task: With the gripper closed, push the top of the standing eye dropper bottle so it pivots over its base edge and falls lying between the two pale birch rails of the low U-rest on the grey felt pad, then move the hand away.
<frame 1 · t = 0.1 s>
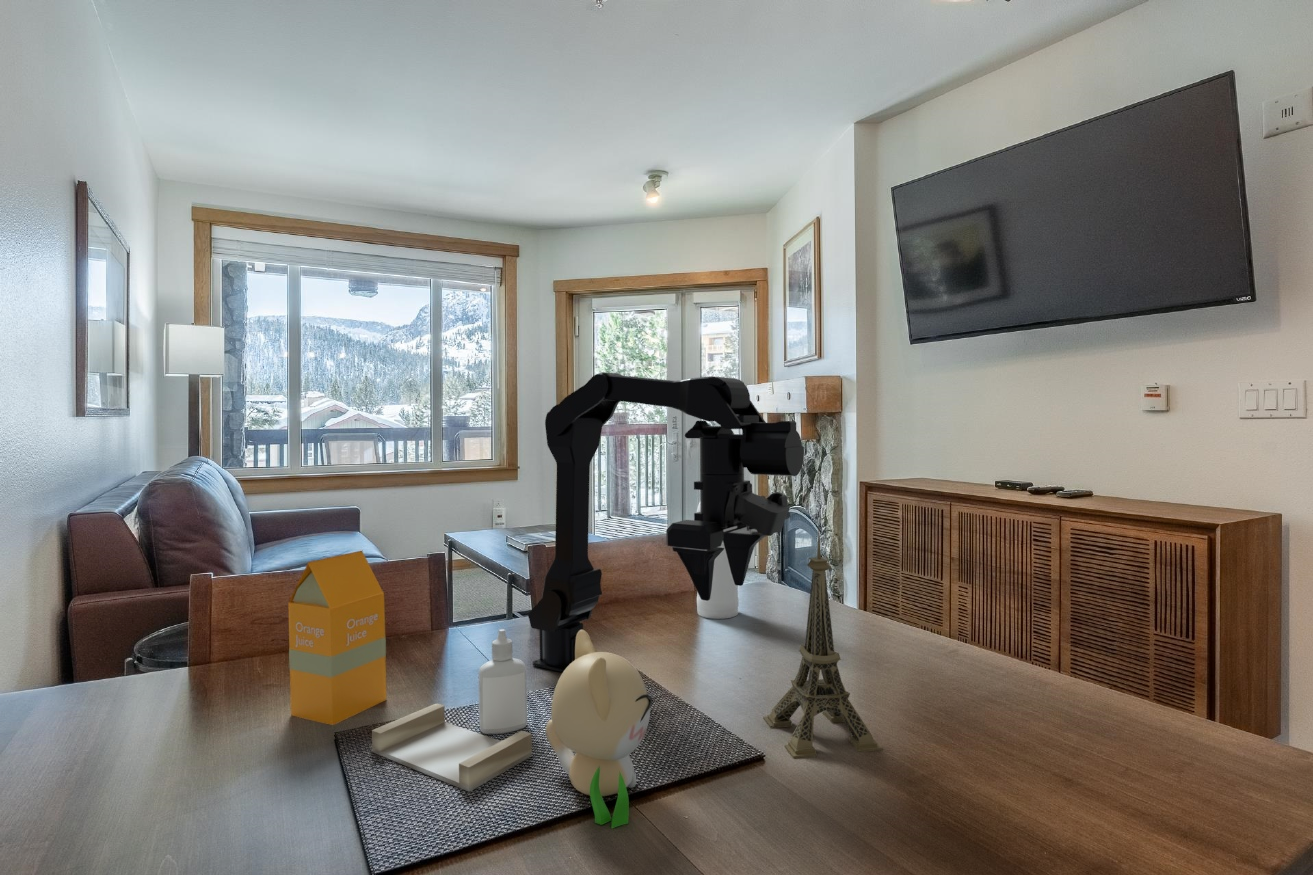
hand: (722, 592, 93), 15 cm above the table, tool pointing down, fingers open, 9 cm apart
eye dropper bottle: (503, 729, 86), on the table
bottle: (717, 614, 136), on the table
u rest: (451, 753, 80), on the table
orange juice: (339, 708, 93), on the table
eiffel tower: (819, 735, 84), on the table
kitten: (603, 791, 72), on the table
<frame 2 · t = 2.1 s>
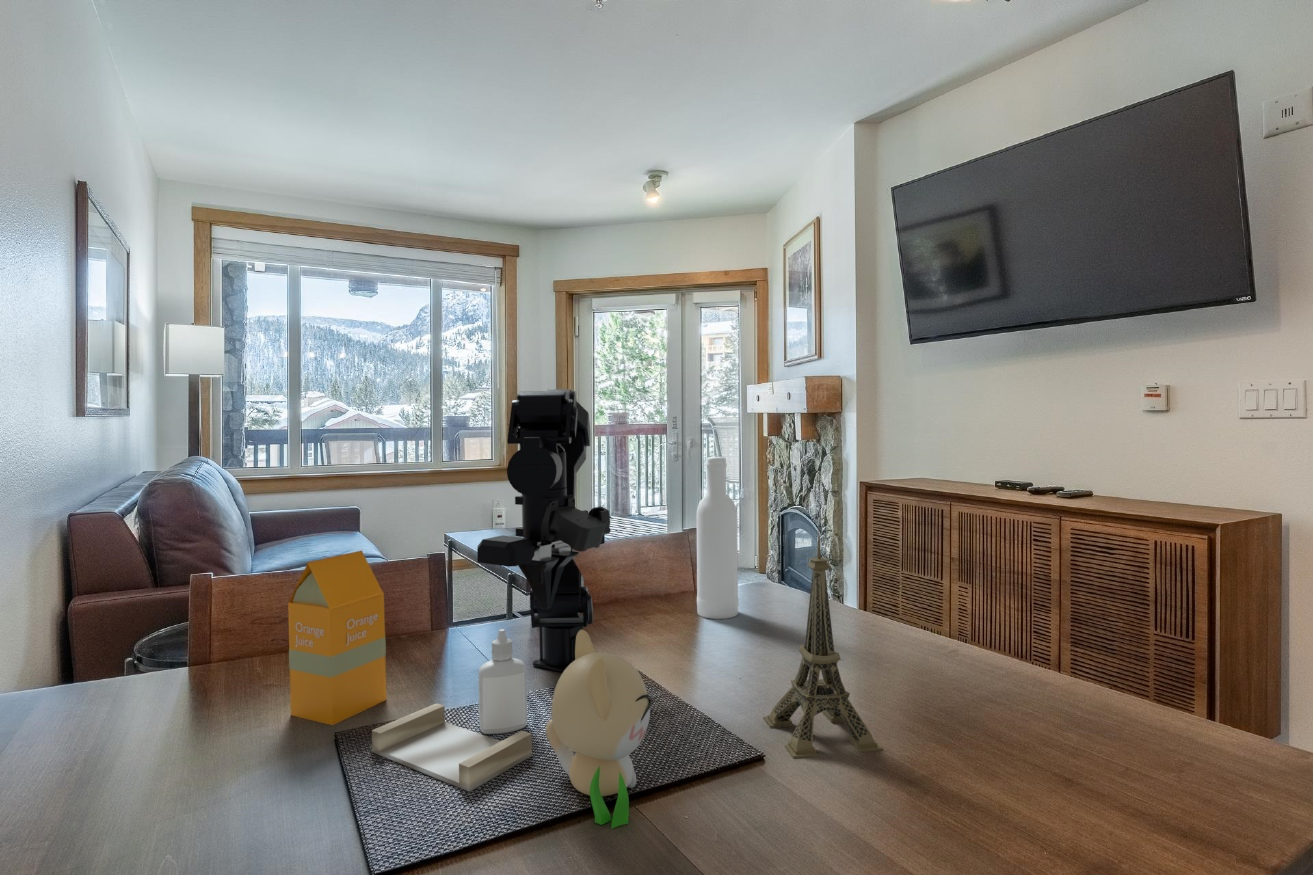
hand: (546, 608, 92), 13 cm above the table, tool pointing down, fingers closed
nothing on the table moved.
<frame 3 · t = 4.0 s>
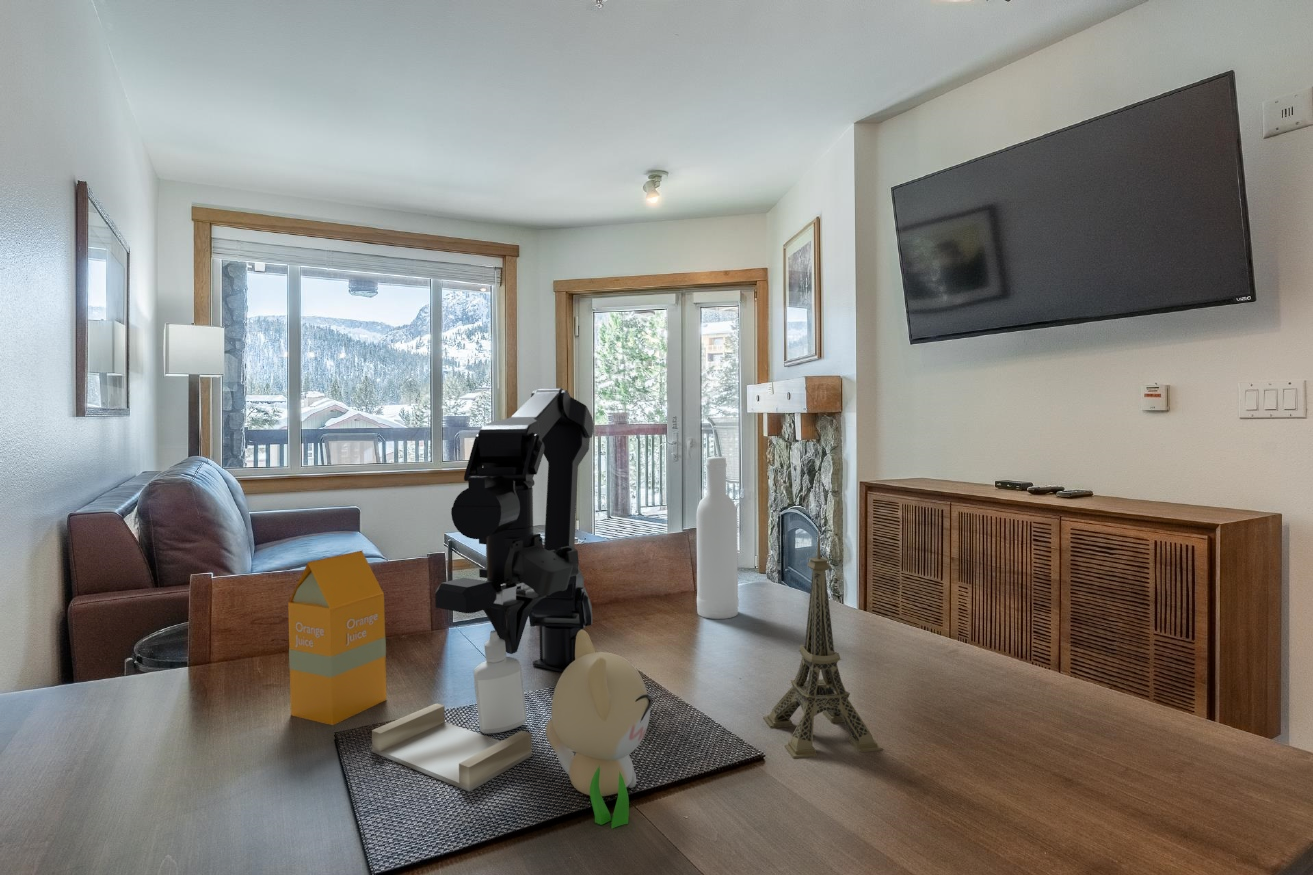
hand: (511, 652, 87), 9 cm above the table, tool pointing down, fingers closed
eye dropper bottle: (503, 726, 86), on the table, touching gripper
everything else where it was.
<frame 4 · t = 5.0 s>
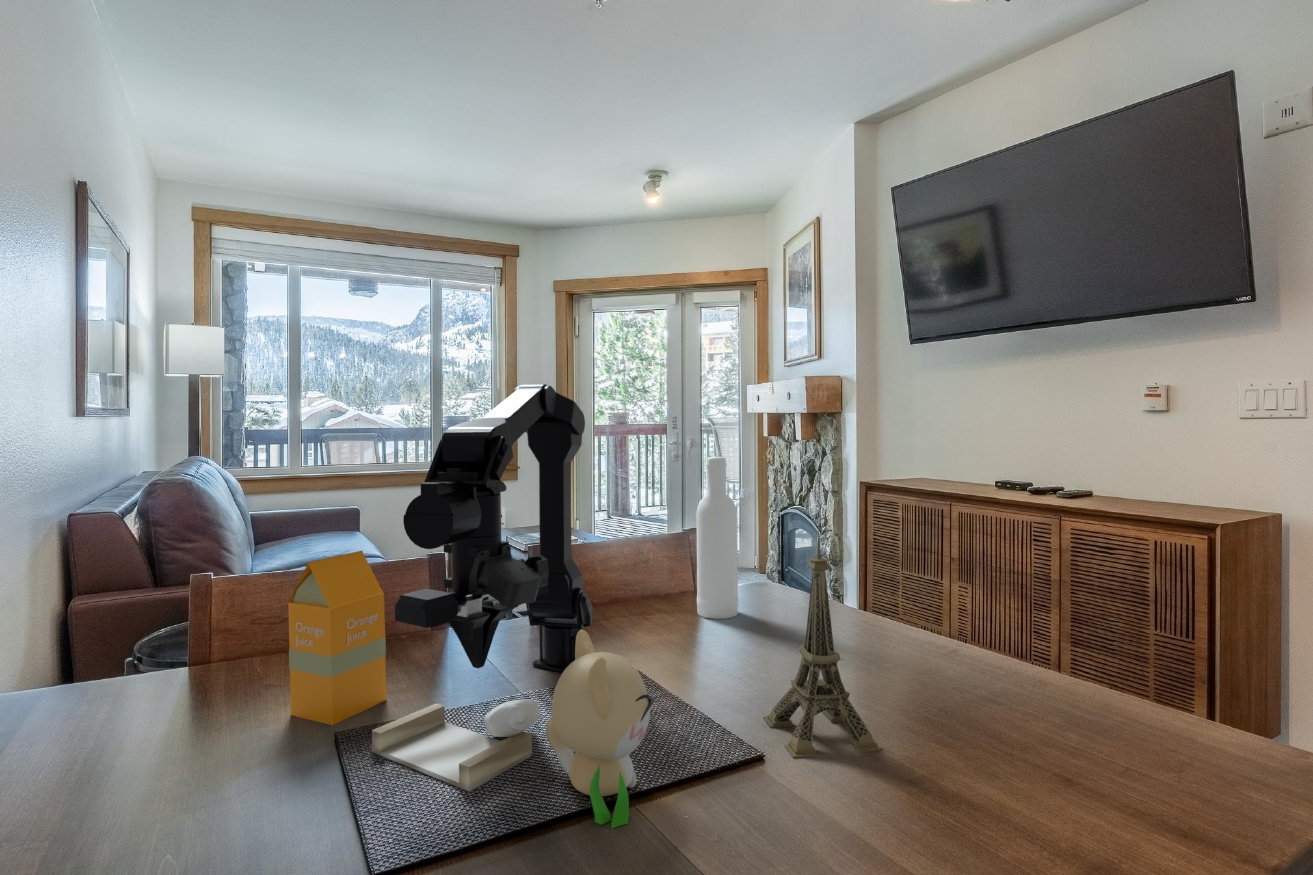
hand: (478, 667, 83), 9 cm above the table, tool pointing down, fingers closed
eye dropper bottle: (507, 717, 85), point 2 cm above the table, touching u rest
everything else where it was.
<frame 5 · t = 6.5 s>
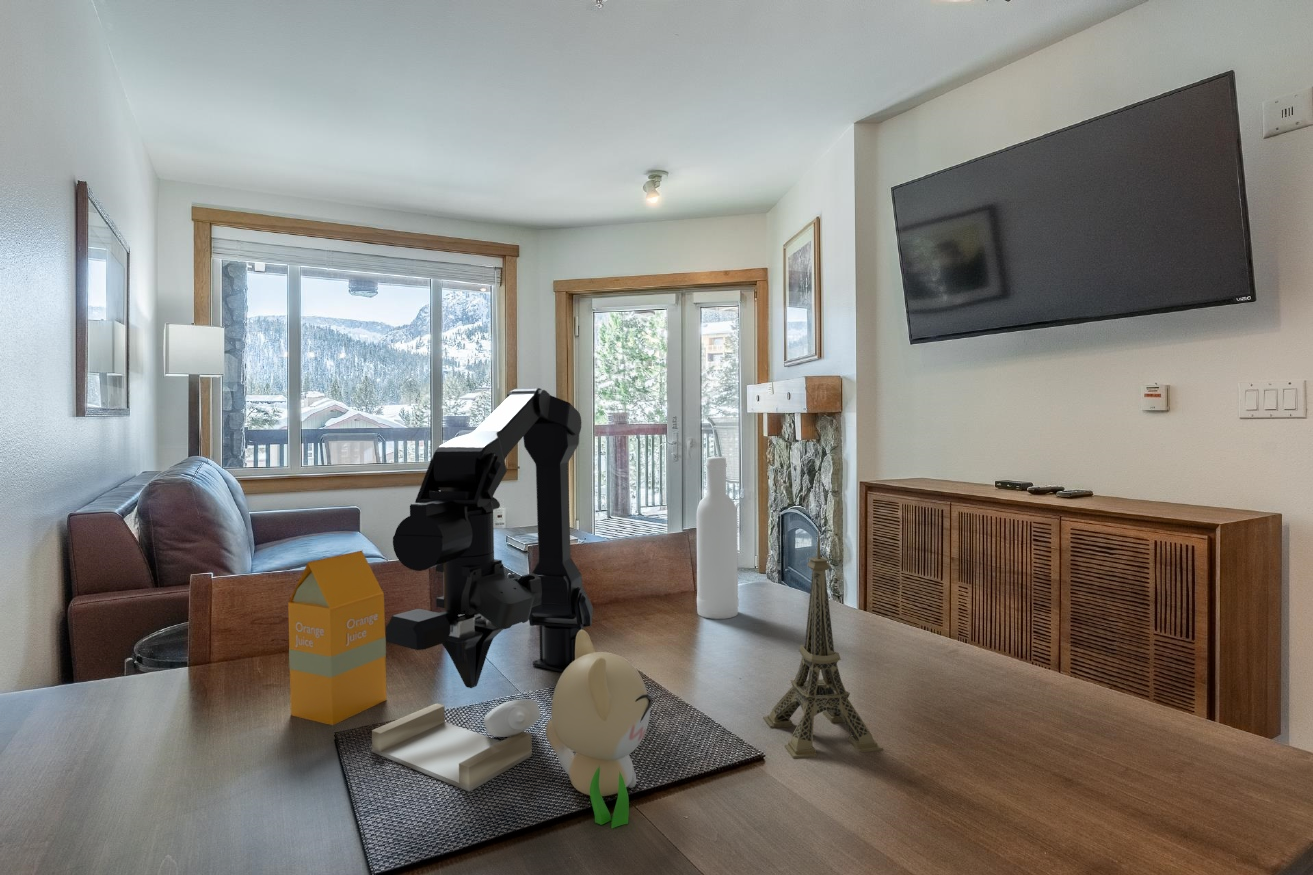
hand: (471, 686, 82), 7 cm above the table, tool pointing down, fingers closed
nothing on the table moved.
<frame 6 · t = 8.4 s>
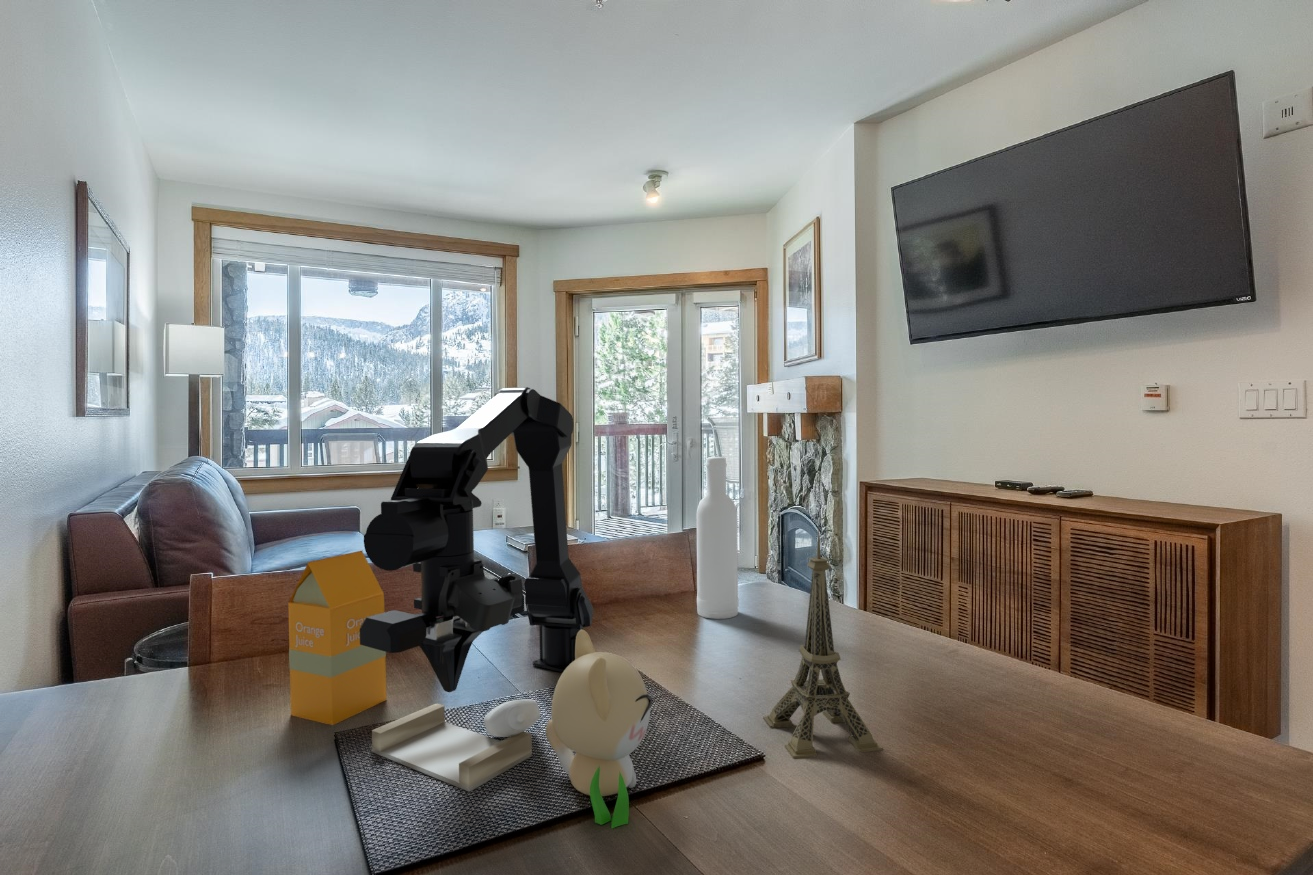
hand: (450, 690, 79), 7 cm above the table, tool pointing down, fingers closed
nothing on the table moved.
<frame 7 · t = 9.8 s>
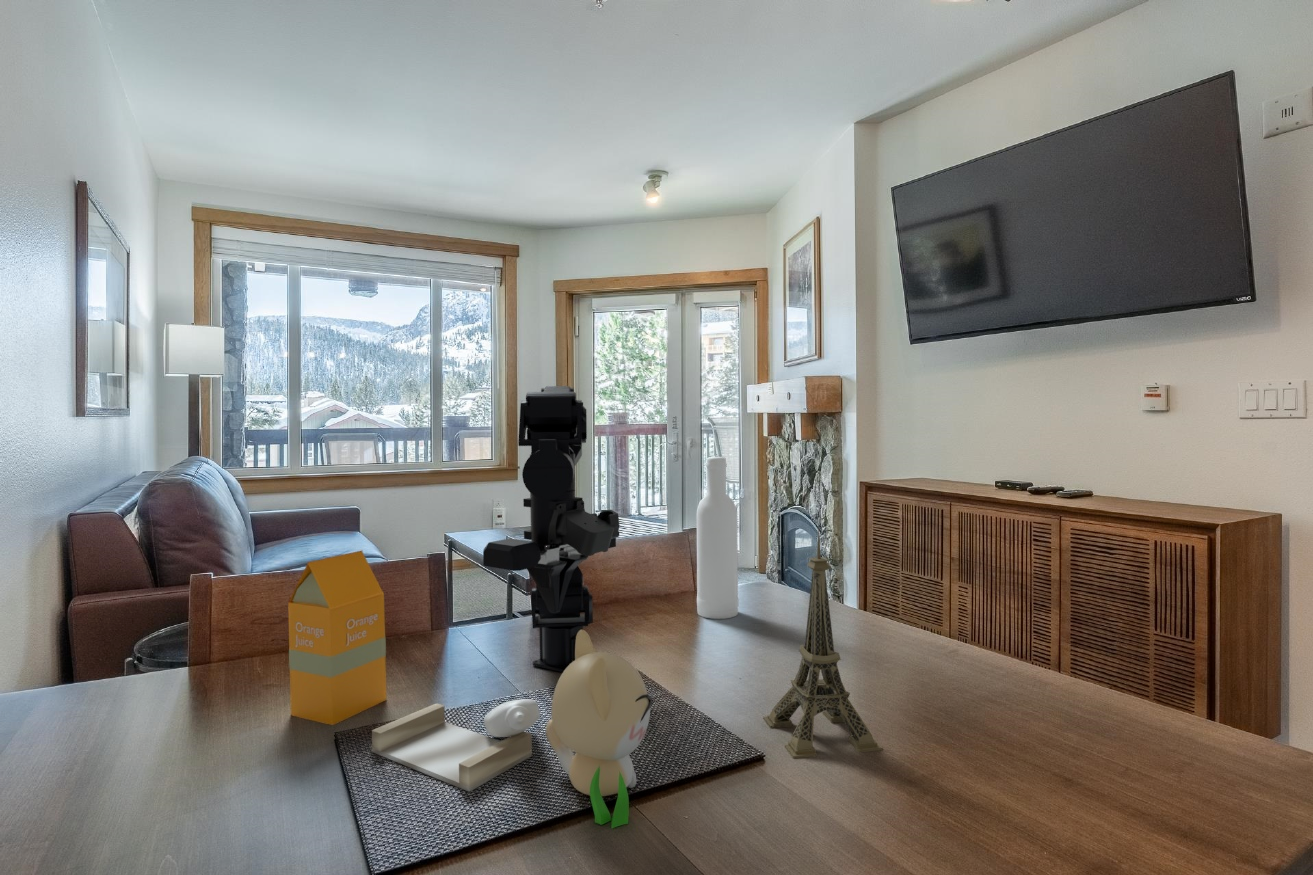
hand: (554, 612, 90), 13 cm above the table, tool pointing down, fingers closed
nothing on the table moved.
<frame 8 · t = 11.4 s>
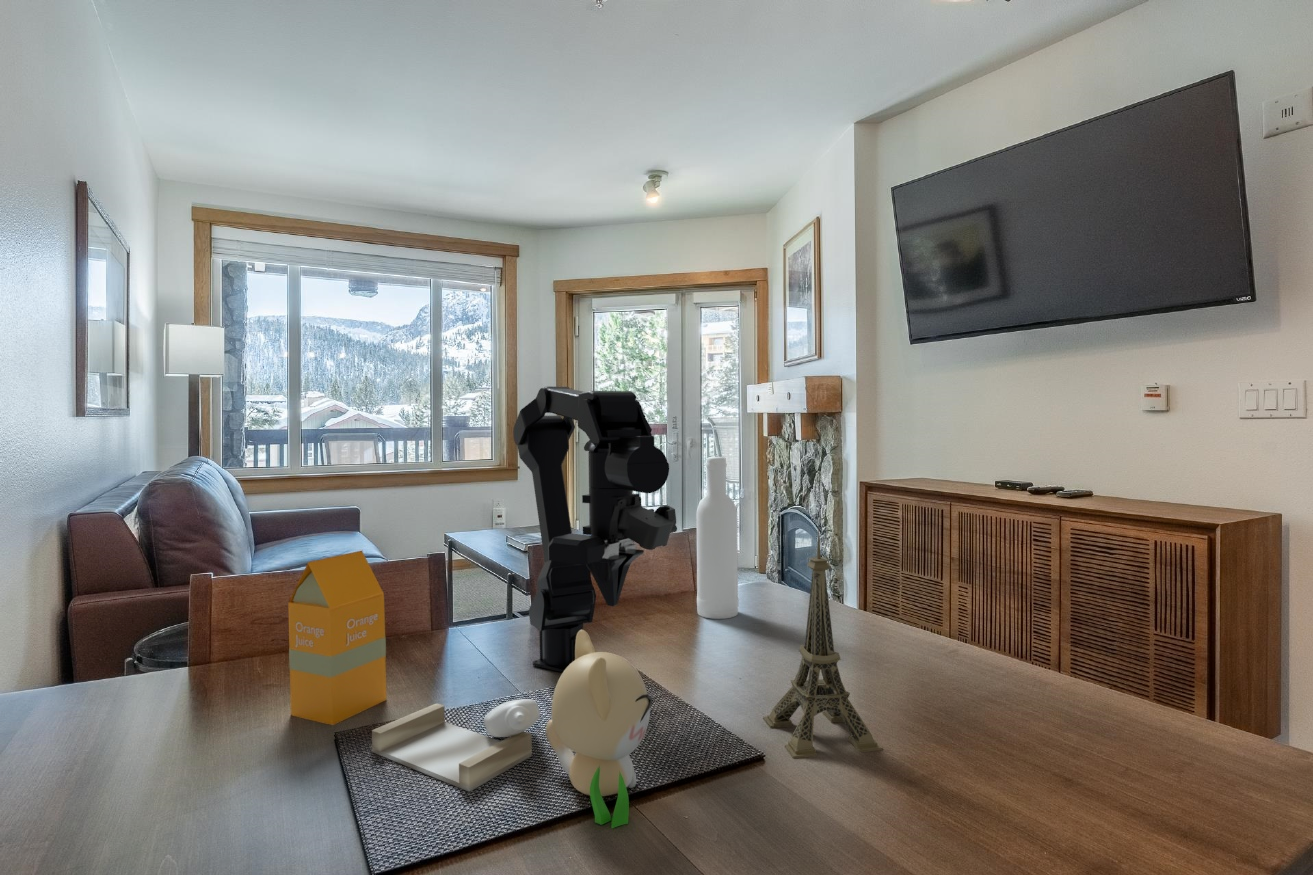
hand: (612, 605, 93), 13 cm above the table, tool pointing down, fingers closed
nothing on the table moved.
at the end: eye dropper bottle tilted 69°; eye dropper bottle inside the target area (5.8 cm from its centre), point 1.6 cm above the table; eye dropper bottle touching table, u rest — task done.
